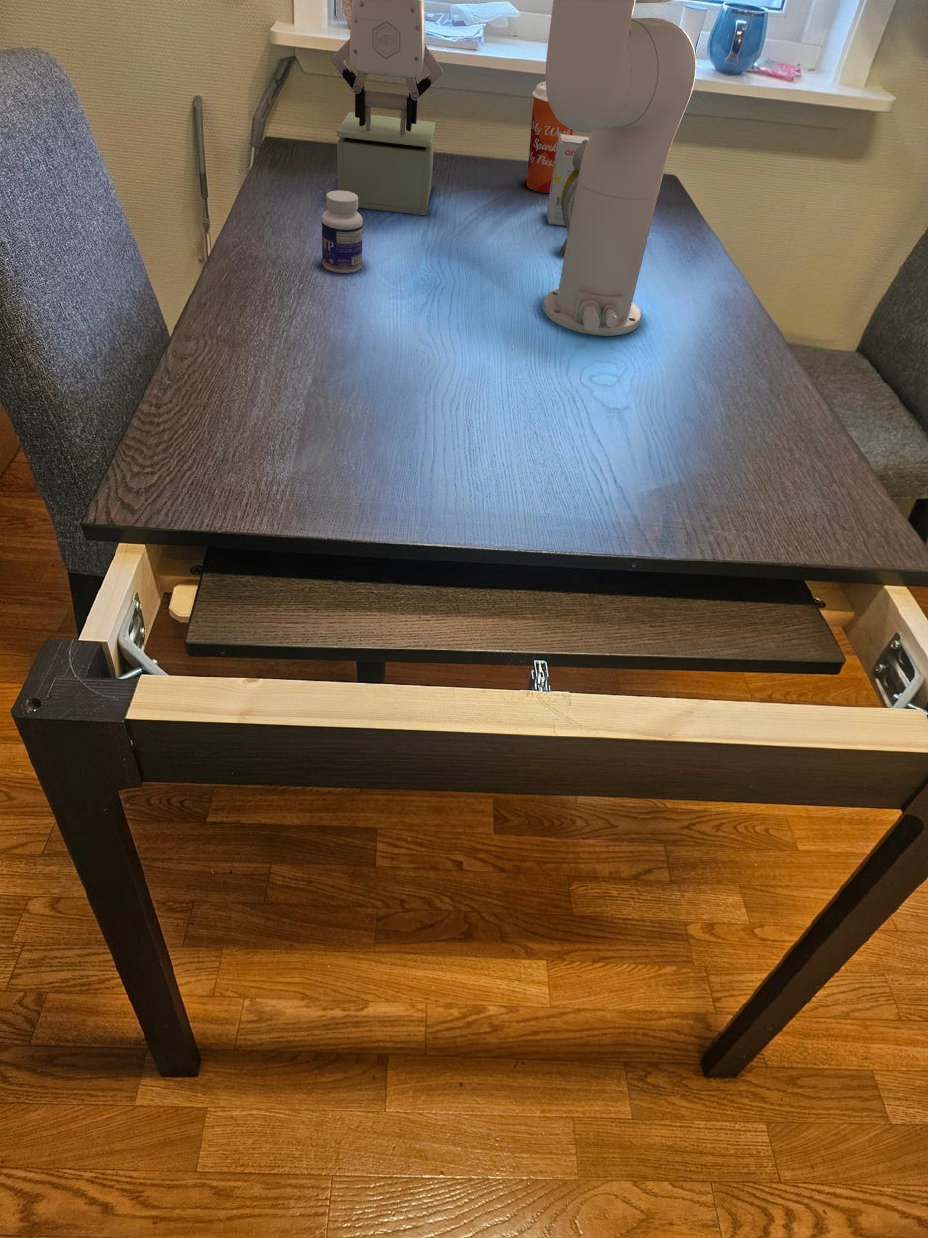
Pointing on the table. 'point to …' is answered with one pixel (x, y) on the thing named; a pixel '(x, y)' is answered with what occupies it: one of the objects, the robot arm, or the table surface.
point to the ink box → (561, 175)
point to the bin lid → (387, 123)
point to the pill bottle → (342, 233)
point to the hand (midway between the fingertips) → (385, 124)
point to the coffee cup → (543, 141)
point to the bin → (386, 174)
